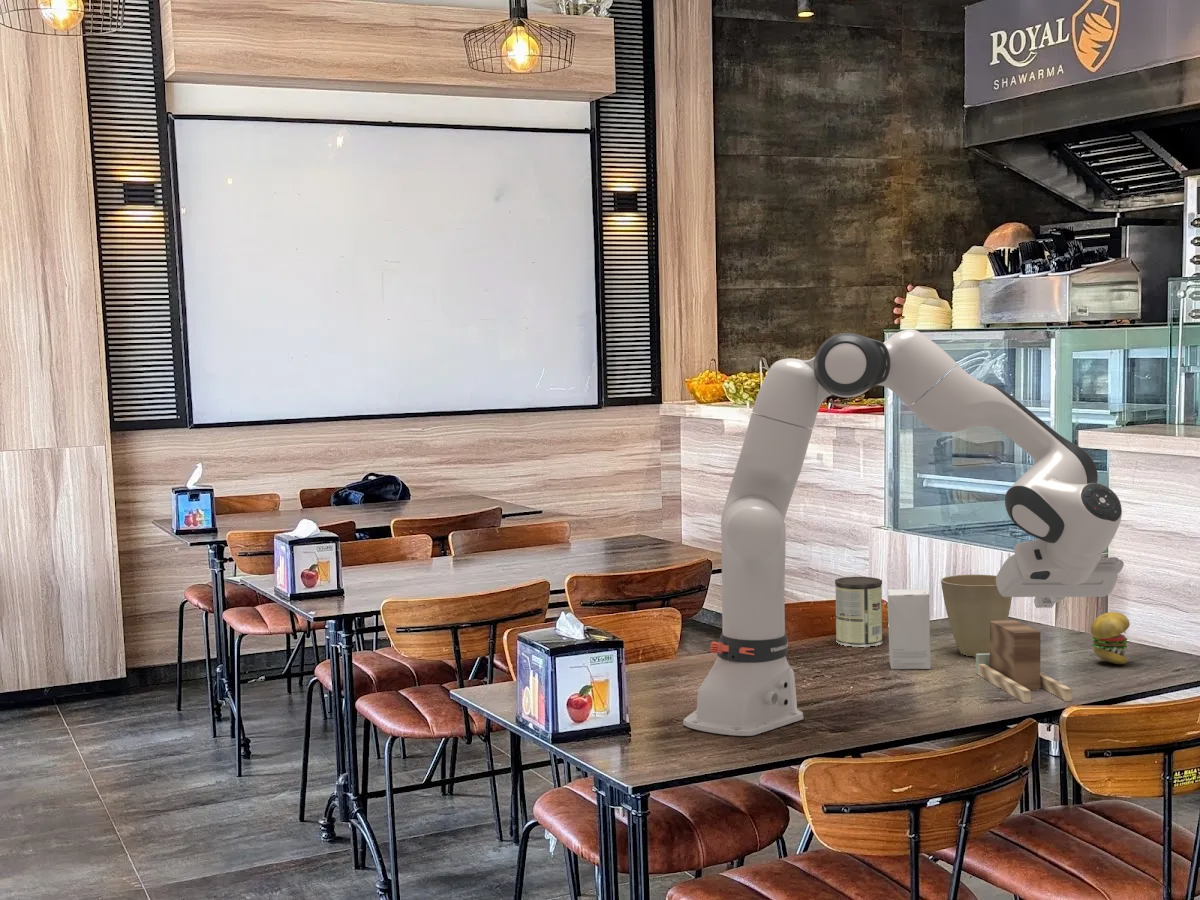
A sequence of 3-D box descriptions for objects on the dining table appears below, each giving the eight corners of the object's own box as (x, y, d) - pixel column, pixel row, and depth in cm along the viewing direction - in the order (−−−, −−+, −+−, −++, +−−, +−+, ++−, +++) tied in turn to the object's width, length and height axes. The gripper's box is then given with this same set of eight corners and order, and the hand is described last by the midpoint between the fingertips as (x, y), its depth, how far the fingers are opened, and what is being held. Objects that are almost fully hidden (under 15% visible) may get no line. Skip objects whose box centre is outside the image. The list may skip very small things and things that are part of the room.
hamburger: (1137, 667, 261) (1137, 608, 260) (1106, 669, 259) (1106, 610, 259) (1113, 658, 269) (1113, 601, 268) (1082, 661, 267) (1083, 603, 266)
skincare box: (929, 663, 268) (928, 588, 267) (931, 670, 261) (931, 593, 260) (887, 662, 269) (887, 587, 268) (888, 669, 263) (888, 593, 262)
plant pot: (984, 644, 285) (984, 572, 284) (1029, 657, 271) (1029, 582, 270) (926, 650, 280) (926, 577, 279) (968, 664, 266) (968, 587, 265)
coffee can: (841, 636, 296) (841, 575, 295) (886, 640, 291) (886, 577, 290) (830, 646, 286) (829, 582, 285) (877, 649, 282) (876, 584, 281)
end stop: (1021, 673, 258) (1021, 653, 257) (978, 674, 257) (978, 655, 257) (1019, 671, 259) (1019, 651, 259) (975, 673, 258) (975, 653, 258)
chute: (1071, 701, 236) (1071, 689, 236) (1024, 703, 235) (1024, 691, 235) (1021, 673, 258) (1021, 662, 258) (978, 674, 257) (978, 663, 257)
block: (1040, 689, 245) (1040, 632, 244) (1014, 690, 244) (1014, 633, 244) (1014, 675, 257) (1014, 620, 256) (989, 676, 256) (989, 620, 255)
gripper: (1121, 543, 225) (1093, 589, 235) (1007, 543, 223) (983, 590, 233) (1133, 573, 220) (1104, 619, 231) (1016, 573, 219) (992, 619, 229)
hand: (1042, 604), depth 232 cm, fingers closed
